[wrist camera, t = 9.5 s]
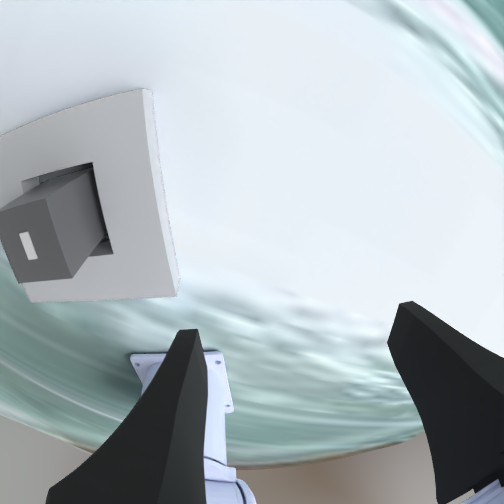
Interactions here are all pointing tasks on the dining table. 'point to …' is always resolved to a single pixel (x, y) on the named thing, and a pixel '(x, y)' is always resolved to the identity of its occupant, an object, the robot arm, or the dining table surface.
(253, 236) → the dining table surface
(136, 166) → the outlet plate
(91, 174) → the block
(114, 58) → the dining table surface
